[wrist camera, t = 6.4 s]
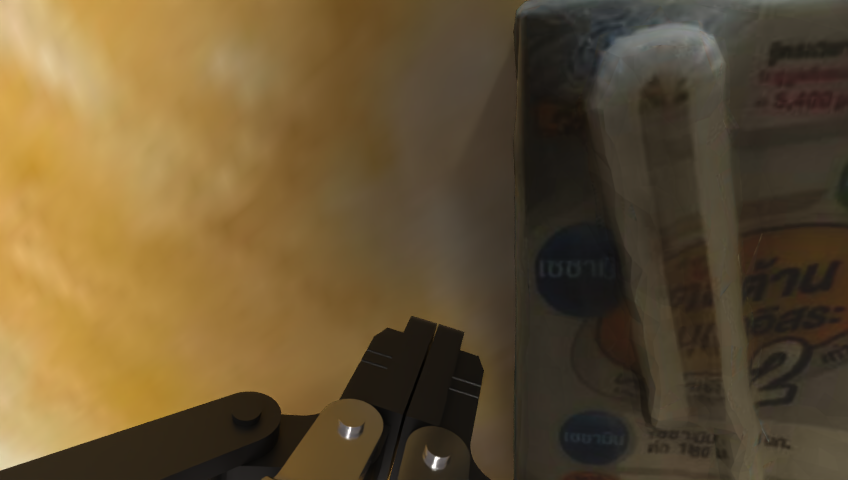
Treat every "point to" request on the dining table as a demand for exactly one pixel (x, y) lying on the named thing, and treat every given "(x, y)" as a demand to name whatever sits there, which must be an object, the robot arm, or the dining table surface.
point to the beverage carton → (681, 240)
